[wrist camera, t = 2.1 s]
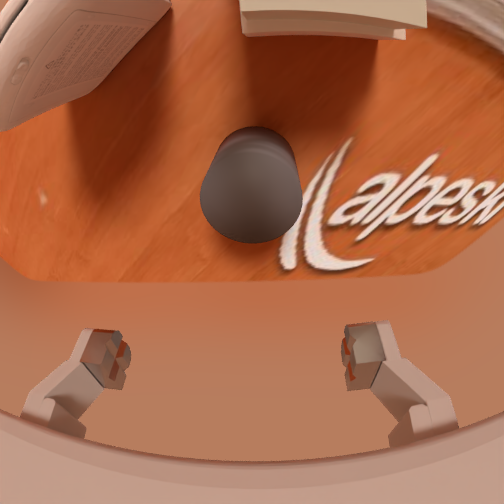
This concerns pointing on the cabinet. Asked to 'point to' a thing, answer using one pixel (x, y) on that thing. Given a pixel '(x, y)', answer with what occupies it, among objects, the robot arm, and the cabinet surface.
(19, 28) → the photo printer
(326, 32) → the tower bottom block
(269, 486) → the robot arm
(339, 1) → the tower top block
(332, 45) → the cabinet surface
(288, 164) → the charcoal cylinder
